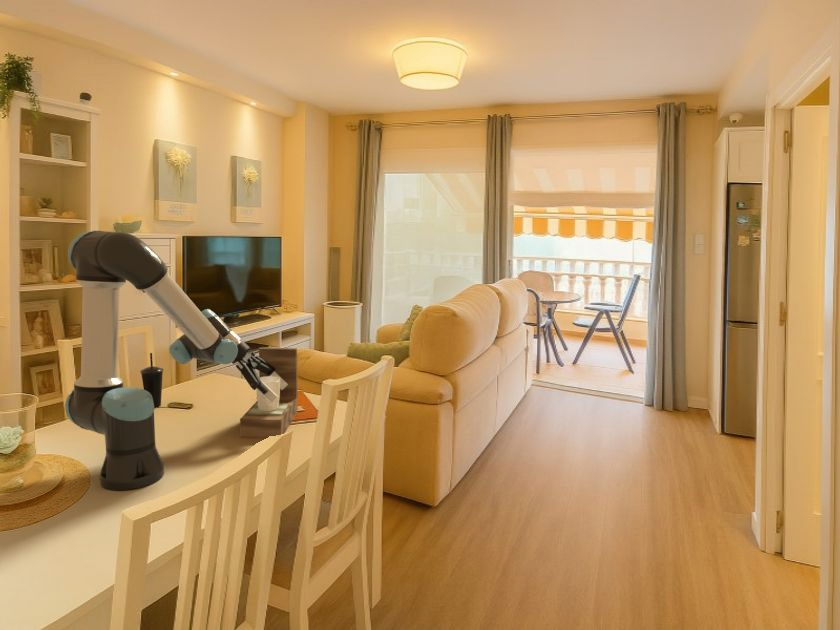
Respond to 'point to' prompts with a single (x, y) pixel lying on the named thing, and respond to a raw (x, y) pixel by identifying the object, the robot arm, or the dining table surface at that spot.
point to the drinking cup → (153, 382)
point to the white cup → (275, 387)
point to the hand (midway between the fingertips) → (280, 393)
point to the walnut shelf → (281, 418)
